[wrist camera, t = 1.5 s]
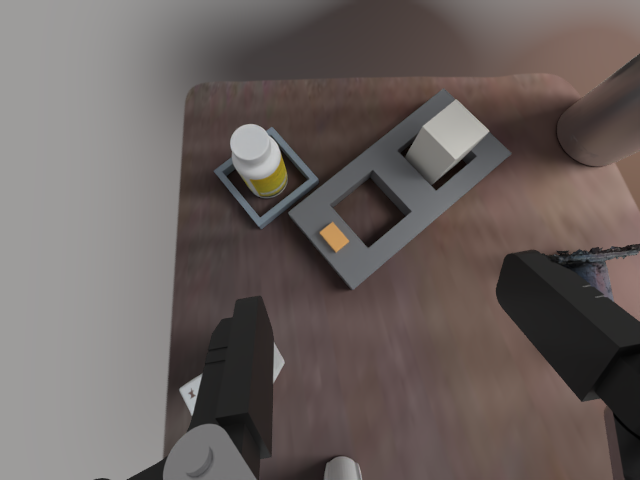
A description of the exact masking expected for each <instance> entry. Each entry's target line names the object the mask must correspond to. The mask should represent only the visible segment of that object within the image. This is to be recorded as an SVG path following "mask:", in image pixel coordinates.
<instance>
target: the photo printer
mask: <svg viewBox="0 0 640 480" xmlns="http://www.w3.org/2000/svg"><path fill="white" fill-rule="evenodd" d="M324 480H362V477H361V472H360V468H359V465H358V463H354V461H353V460H352V459H350V458H348V457H343V456H340V457H336V458H334V459H332V460H331V461H330V462H327V464H326V468H325V474H324Z"/></svg>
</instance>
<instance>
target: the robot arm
mask: <svg viewBox="0 0 640 480" xmlns="http://www.w3.org/2000/svg"><path fill="white" fill-rule="evenodd" d="M557 136H558V139H559V142H560V144H561V146H562V147H563V149H564V150H565V151H566V152H567V154H568V155H569V156H571V157H572V158H573V159H575V160H577V161H578V162H580V163H583V164H586V165H589V166H606V165H609V164H612V163H614V162H617V161H619V160H621V159H623V158H625V157H627V156H630V155H632V154H634V153H636V152H638V151H640V54H638V55H637V56H636V57H634V58H633V59H632V60H631V61H629V62H628V63H627V64H625V65H624V66H623V67H622V68H620V69H619V70H618V71H616V72H615V73H614V74H612V75H611V76H610V77H609V78H607V79H606V80H605V81H603V82H602V83H601V84H599V85H598V86H597V87H596V88H594V89H593V90H592V91H590V92H589V93H588V94H586V95H585V96H584V97H582V98H581V99H580V100H579V101H577V102H576V103H575V104H573V105H572V106H571V107H570V108H568V109H567V110H566V111H565V112H564V113H563V114H562V115H561V117H560V119H559V121H558V124H557ZM496 296H497V299H498V302H499V304H500V305H501V307H502V308H503V309H504V311H505V312H506V313H507V314H508V315H509V316H510V318H511V319H512V320H513V321H514V322H515V324H516V325H517V326H518V327H519V328H520V329H521V331H522V332H523V333H524V334H525V335H526V337H527V338H528V339H529V340H530V341H531V342H532V344H533V345H534V346H535V347H536V348H537V350H538V351H539V352H540V353H541V354H542V355H543V357H544V358H545V359H546V360H547V361H548V363H549V364H550V365H551V366H552V367H553V368H554V370H555V371H556V372H557V373H558V374H559V376H560V377H561V378H562V379H563V380H564V381H565V383H566V384H567V385H568V386H569V387H570V389H571V390H572V391H573V392H574V393H575V394H576V396H577V397H578V398H579V399H580V400H581V402H584V401H589V400H594V399H600V398H601V399H602V400H603V401H604V403H605V404H606V405H607V406H606V407H605V410H604V419H605V426H606V433H607V439H608V446H609V453H610V460H611V467H612V473H613V480H640V322H639V321H638V320H637V319H635V318H634V317H633V316H631V315H630V314H629V313H627V312H626V311H625V310H624V309H622V308H621V307H620V306H618V305H617V304H616V303H614V302H613V301H612V300H611V299H609V298H608V297H604V294H603V293H601V292H600V291H599V290H598V289H596V288H595V287H591V285H590V283H588V282H587V281H586V280H585V279H583V278H582V277H581V276H579V275H578V274H577V273H575V272H574V271H572V270H569V269H567V268H565V267H563V266H561V265H559V264H557V263H552V262H551V261H550V260H548V259H547V258H546V257H545V256H543V255H542V254H541V253H540V252H538V251H536V250H528V251H522V252H517V253H511V254H508V255H506V257H505V258H504V262H503V265H502V269H501V272H500V276H499V280H498V283H497V287H496ZM208 351H209V352H208V353H207V357H206V361H205V367H204V370H203V374H202V378H201V382H200V386H199V390H198V395H197V399H196V403H195V407H194V411H193V415H192V420H191V423H190V426H189V428H188V430H187V432H186V434H185V435H184V436H182V437H181V438H180V439H179V441H178V442H177V443H176V444H175V445H174V447H173V448H172V450H171V452H170V454H169V455H168V456H167V457H165V458H164V459H163V460H161V461H160V462H158V463H157V464H155V465H153V466H151V467H149V468H148V469H146V470H144V471H142V472H140V473H138V474H137V475H134V476H133V477H131V478H129V479H127V480H259V468H260V459H264V458H269V457H271V455H272V412H273V369H274V337H273V331H272V327H271V323H270V320H269V317H268V314H267V311H266V308H265V305H264V302H263V299H262V297H261V296H255V297H249V298H244V299H238V300H237V301H236V303H235V309H234V314H233V317H232V318H226V319H222V320H221V321H220V323H219V324H218V326H217V327H216V329H215V330H214V332H213V333H212V336H211V340H210V345H209V349H208ZM95 480H109V479H105V478H100V479H95Z"/></svg>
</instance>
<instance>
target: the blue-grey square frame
mask: <svg viewBox="0 0 640 480" xmlns="http://www.w3.org/2000/svg"><path fill="white" fill-rule="evenodd" d="M266 132H267V134H268V136H270V137H271V138H273V139H274V140H275V142H276V143H277V144H278V146H279V148H280V149H281V150H282V151H283V152H284V154H285V155H286V156H287V157H288V158H289V159H290V160H291V162H292V163H293V164H294V165H295V166H296V167H297V168H298V169H299V171H300V172H301V173H302V174H303V175H304V176H305V177H306V179H307V181H306V182H305V183H304V184H302V185H301V186H300V187H299V188H297V189H296V190H295V191H293V192H292V193H291V194H290V195H288V196H287V197H286V198H285V199H283V200H282V201H281V202H280V203H278V204H277V205H276V206H274V207H273V208H272V209H271V210H269V211H268V212H267V213H266V214H264V215H263V216H262V217H261V218H260V217H259V216H258V215H257V213H256V212H255V211H254V210H253V209H252V207H251V206H250V205H249V204H248V202H247V201H246V200H245V199H244V198H243V196H242V195H241V194H240V193H239V192H238V190H237V189H236V188H235V187H234V185H233V184H232V183H231V182H230V181H229V179H228V178H227V177H226V176H227V175H228V174H230V173H231V172H232V171H234V170H235V167H234V165H233V162H232V157H231V158H230V159H229V160H227V161H226V162H225V163H223V164H222V165H221V166H219V167H218V168H217V169H215V170H214V172H215V173H216V175H217V176H218V177H219V178H220V180H221V181H222V182H223V183H224V184H225V186H226V187H227V188H228V189H229V191H230V192H231V193H232V194H233V196H234V197H235V198H236V199H237V200H238V202H239V203H240V204H241V205H242V207H243V208H244V209H245V210H246V211H247V213H248V214H249V215H250V216H251V218H252V219H253V220H254V221H255V223H256V224H257V225H258V226H259V227H260V228H261V229H263V228H264V227H265V226H266V225H268V224H269V223H270V222H271V221H273V220H274V219H275V218H276V217H278V216H279V215H280V214H281V213H283V212H284V211H285V210H286V209H288V208H289V207H290V206H291V205H293V204H294V203H295V202H297V201H298V200H299V199H300V198H302V197H303V196H304V195H305V194H307V193H308V192H309V191H310V190H312V189H313V188H314V187H315V186H317V185H318V184H319V179H318V178H317V177H316V176H315V175H314V173H313V172H312V171H311V170H310V169H309V168H308V167H307V166H306V164H305V163H304V162H303V161H302V160H301V159H300V158H299V157H298V155H297V154H296V153H295V152H294V151H293V150H292V149H291V148H290V146H289V145H288V144H287V143H286V142H285V141H284V140H283V138H282V137H281V136H280V135H279V134H278V133H277V132H276V131H275V129H274V128H273V127H271V128H270V129H269V130H267V131H266Z"/></svg>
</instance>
